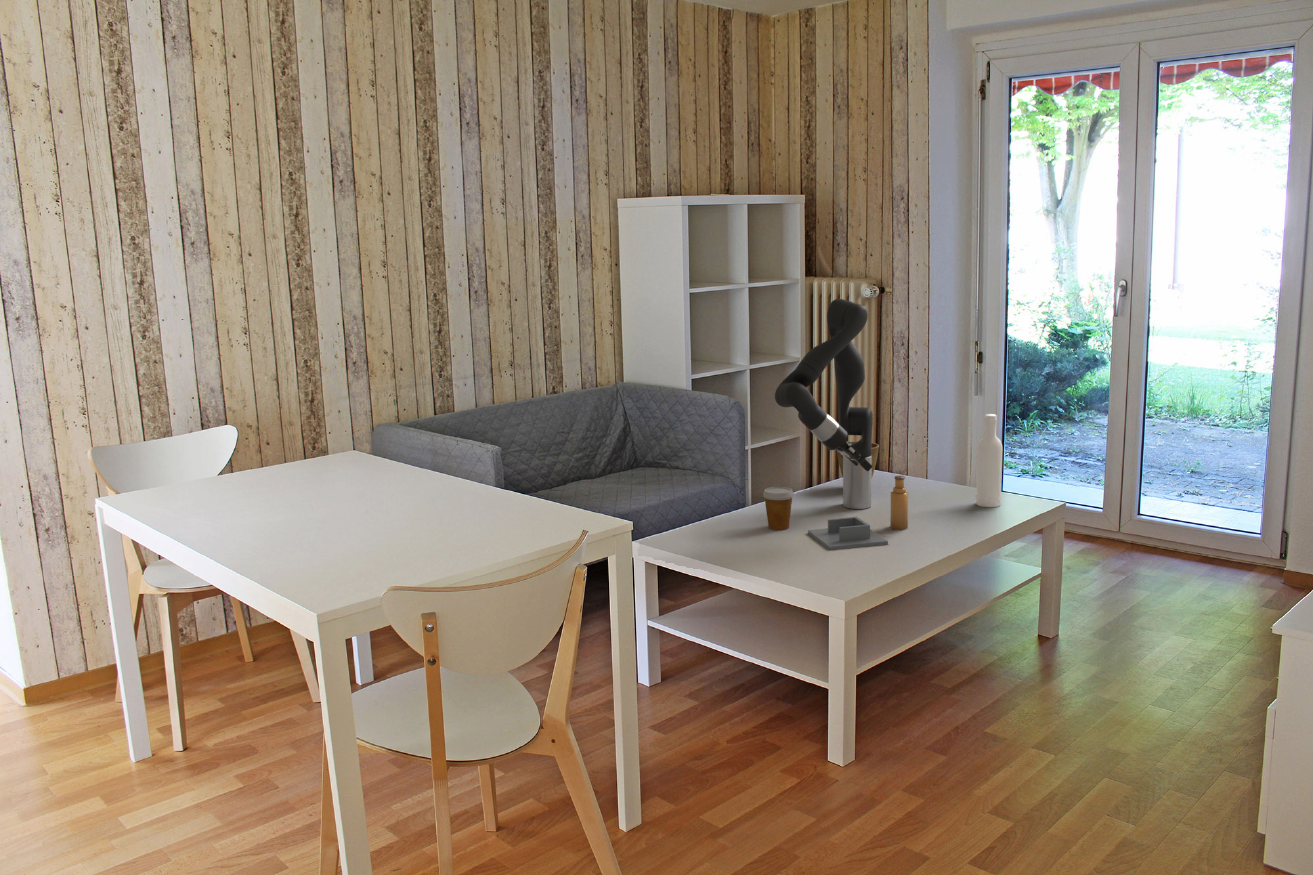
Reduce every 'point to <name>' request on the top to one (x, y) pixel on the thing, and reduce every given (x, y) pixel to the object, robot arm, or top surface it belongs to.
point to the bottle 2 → (989, 466)
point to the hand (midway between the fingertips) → (864, 466)
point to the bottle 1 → (899, 505)
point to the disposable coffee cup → (778, 507)
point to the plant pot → (874, 457)
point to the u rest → (847, 534)
